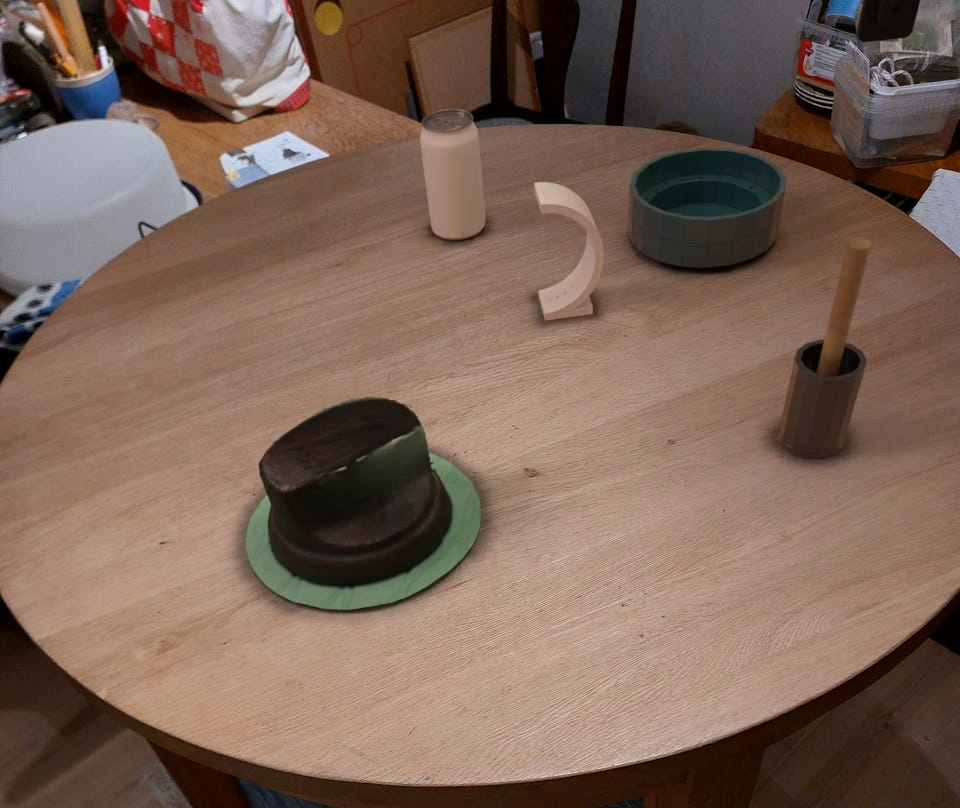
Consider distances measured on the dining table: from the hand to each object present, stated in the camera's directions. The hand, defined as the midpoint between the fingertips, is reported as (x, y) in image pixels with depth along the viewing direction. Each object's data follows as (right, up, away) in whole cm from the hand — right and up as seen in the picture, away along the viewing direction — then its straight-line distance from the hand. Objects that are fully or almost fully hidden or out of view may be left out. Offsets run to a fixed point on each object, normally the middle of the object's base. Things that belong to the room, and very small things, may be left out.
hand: (857, 11), depth 58 cm
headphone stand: (-15, -5, +37) cm, 40 cm away
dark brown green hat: (-34, -31, +19) cm, 49 cm away
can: (-27, +8, +49) cm, 57 cm away
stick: (+4, -23, +20) cm, 30 cm away
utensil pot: (+4, -23, +20) cm, 31 cm away
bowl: (+1, +5, +43) cm, 43 cm away
